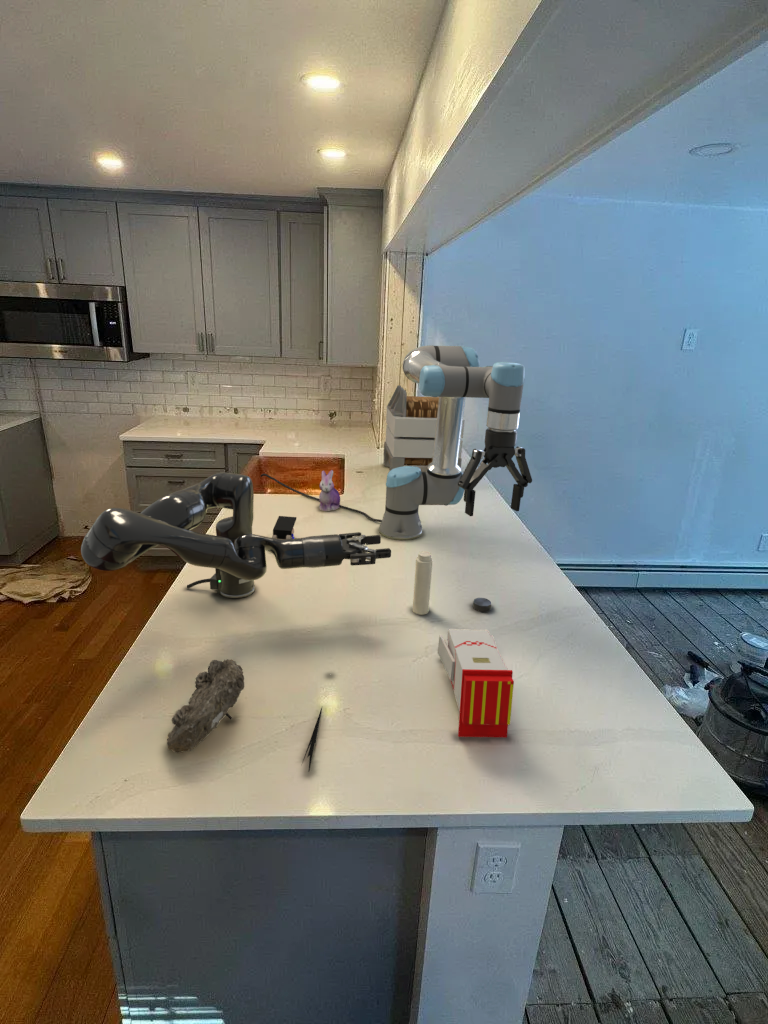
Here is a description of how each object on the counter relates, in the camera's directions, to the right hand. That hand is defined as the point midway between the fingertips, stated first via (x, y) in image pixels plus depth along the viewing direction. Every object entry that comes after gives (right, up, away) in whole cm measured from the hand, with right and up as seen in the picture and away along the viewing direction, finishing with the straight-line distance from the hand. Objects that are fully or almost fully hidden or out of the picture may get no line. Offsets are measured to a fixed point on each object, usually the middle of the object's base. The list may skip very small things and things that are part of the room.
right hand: (492, 512), depth 144 cm
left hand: (-27, -8, -4) cm, 29 cm away
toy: (-10, -38, -25) cm, 46 cm away
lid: (-1, -24, +9) cm, 26 cm away
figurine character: (-60, -11, +43) cm, 75 cm away
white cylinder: (-18, -26, +6) cm, 32 cm away
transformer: (-10, +19, +131) cm, 133 cm away
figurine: (-49, +2, +79) cm, 93 cm away
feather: (-40, -40, -35) cm, 66 cm away
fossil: (-60, -39, -36) cm, 80 cm away
